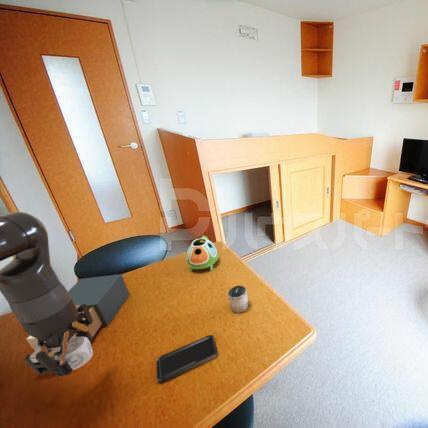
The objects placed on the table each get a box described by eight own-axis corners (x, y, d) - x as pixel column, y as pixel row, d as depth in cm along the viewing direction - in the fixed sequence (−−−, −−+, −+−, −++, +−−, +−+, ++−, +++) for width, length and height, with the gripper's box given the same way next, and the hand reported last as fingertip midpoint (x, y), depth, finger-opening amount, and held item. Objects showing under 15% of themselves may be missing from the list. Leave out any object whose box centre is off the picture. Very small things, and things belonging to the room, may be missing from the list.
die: (92, 346, 60) (84, 332, 57) (93, 361, 56) (85, 347, 54) (64, 359, 57) (55, 345, 54) (63, 375, 53) (53, 361, 51)
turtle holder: (221, 249, 120) (217, 228, 115) (216, 271, 104) (211, 248, 99) (194, 252, 117) (189, 231, 112) (185, 275, 101) (179, 252, 96)
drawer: (73, 369, 65) (60, 350, 61) (22, 378, 62) (5, 359, 59) (112, 313, 82) (103, 296, 78) (72, 319, 79) (62, 302, 76)
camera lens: (250, 300, 89) (248, 283, 86) (246, 313, 84) (243, 296, 80) (233, 300, 89) (230, 284, 86) (228, 313, 83) (224, 296, 80)
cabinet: (108, 325, 78) (97, 304, 74) (62, 332, 76) (48, 310, 72) (129, 293, 91) (121, 274, 87) (91, 299, 89) (80, 278, 85)
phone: (156, 357, 68) (212, 333, 75) (157, 360, 68) (213, 336, 75) (156, 383, 62) (217, 354, 69) (158, 385, 62) (218, 356, 69)
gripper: (50, 284, 55) (79, 334, 62) (-14, 340, 42) (32, 394, 49) (88, 280, 56) (112, 329, 63) (38, 333, 43) (75, 386, 51)
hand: (77, 357), depth 56 cm, fingers closed on die, 6 cm apart
